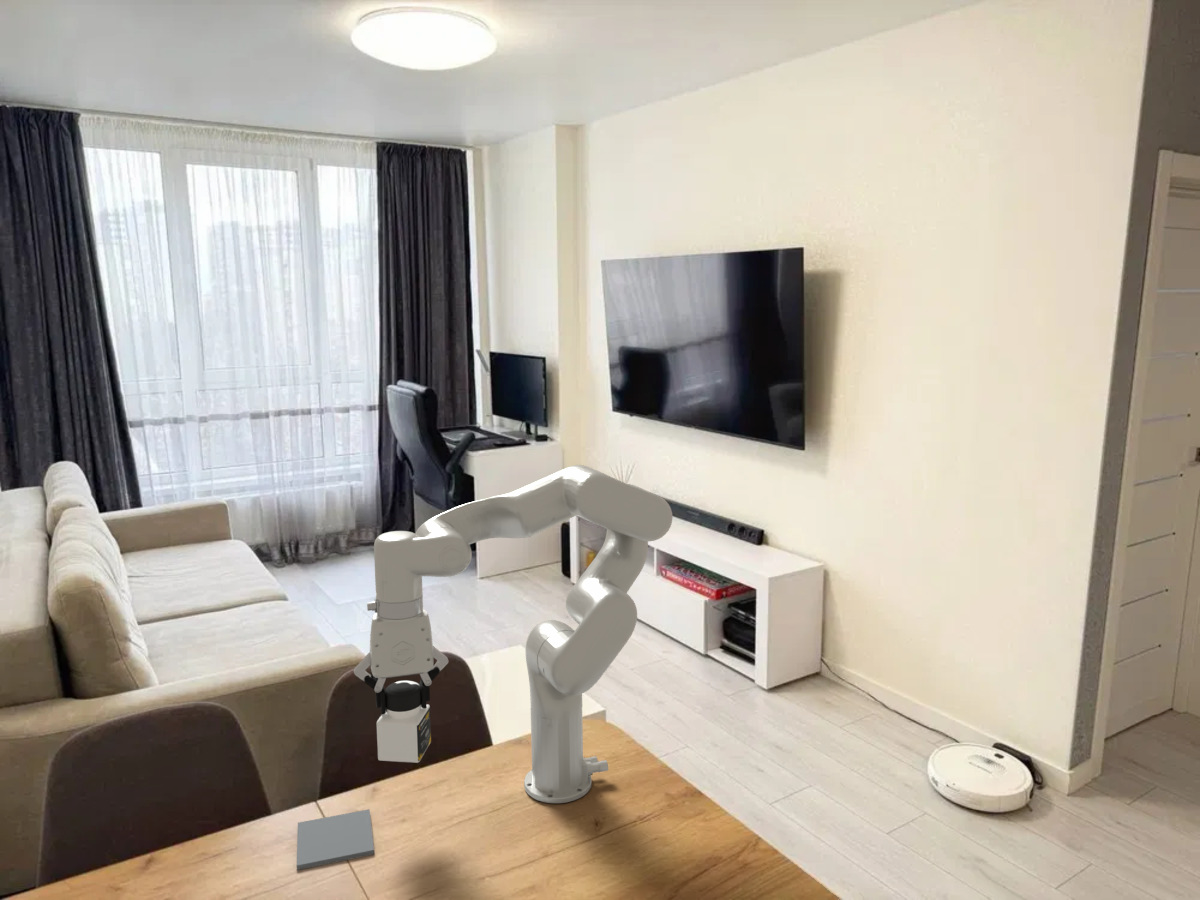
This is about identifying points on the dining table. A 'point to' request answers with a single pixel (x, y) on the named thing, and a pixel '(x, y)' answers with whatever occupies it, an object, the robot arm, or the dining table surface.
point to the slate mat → (334, 839)
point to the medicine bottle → (403, 724)
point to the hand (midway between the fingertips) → (403, 706)
